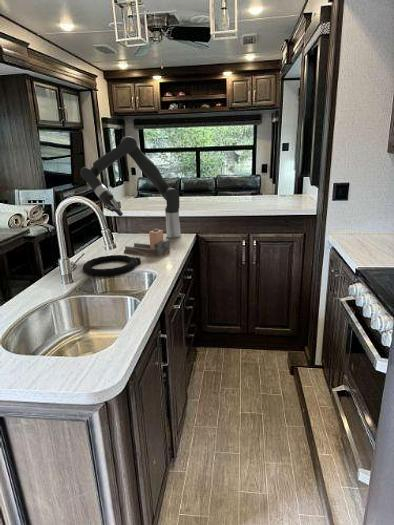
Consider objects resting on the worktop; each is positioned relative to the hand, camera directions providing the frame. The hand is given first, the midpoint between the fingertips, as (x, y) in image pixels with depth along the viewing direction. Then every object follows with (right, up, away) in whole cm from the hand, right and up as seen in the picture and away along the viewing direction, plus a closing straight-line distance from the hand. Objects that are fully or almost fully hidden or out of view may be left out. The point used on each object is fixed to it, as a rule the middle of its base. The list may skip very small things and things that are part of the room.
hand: (121, 215), depth 210 cm
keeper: (+22, -22, -6) cm, 32 cm away
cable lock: (+1, -31, -26) cm, 41 cm away
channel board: (+15, -22, -2) cm, 27 cm away
